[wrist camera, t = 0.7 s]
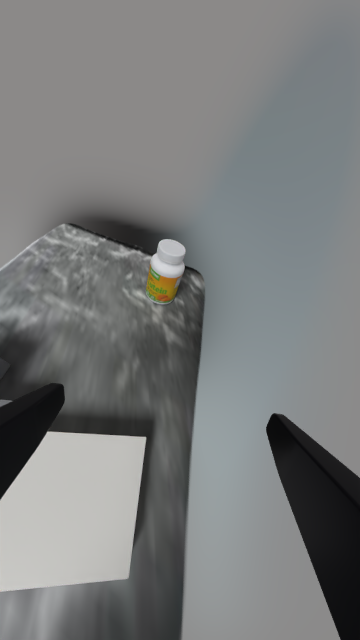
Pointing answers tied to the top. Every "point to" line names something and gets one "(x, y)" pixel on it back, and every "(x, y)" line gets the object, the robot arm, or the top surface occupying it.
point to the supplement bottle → (165, 272)
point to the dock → (0, 370)
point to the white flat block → (71, 512)
